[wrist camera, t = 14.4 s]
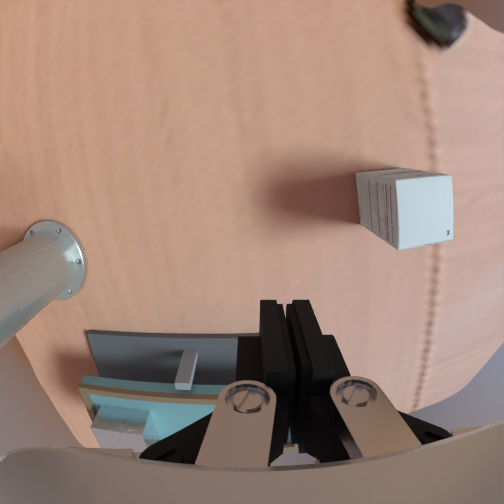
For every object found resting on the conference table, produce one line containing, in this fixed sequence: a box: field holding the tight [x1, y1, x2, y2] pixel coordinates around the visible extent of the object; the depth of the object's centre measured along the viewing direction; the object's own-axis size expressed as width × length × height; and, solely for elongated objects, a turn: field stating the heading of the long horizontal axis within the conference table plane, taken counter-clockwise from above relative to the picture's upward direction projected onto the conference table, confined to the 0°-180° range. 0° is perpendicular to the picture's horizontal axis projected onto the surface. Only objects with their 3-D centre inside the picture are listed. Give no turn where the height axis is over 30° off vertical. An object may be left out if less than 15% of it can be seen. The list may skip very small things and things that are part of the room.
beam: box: [77, 375, 299, 451], centre depth 41 cm, size 32×12×3 cm, turn 91°
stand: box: [87, 330, 259, 390], centre depth 44 cm, size 34×20×9 cm, turn 91°
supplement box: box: [355, 168, 453, 250], centre depth 34 cm, size 7×7×13 cm
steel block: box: [90, 405, 159, 452], centre depth 38 cm, size 8×6×5 cm
